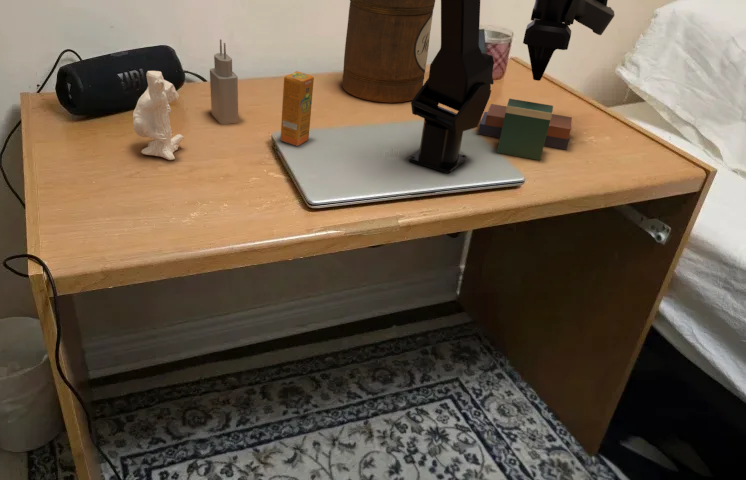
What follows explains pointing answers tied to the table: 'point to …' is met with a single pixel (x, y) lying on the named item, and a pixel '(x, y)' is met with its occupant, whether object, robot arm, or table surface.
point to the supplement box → (296, 108)
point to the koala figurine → (157, 116)
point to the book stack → (555, 135)
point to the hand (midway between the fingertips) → (536, 79)
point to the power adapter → (224, 89)
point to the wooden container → (387, 48)
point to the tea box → (524, 129)
